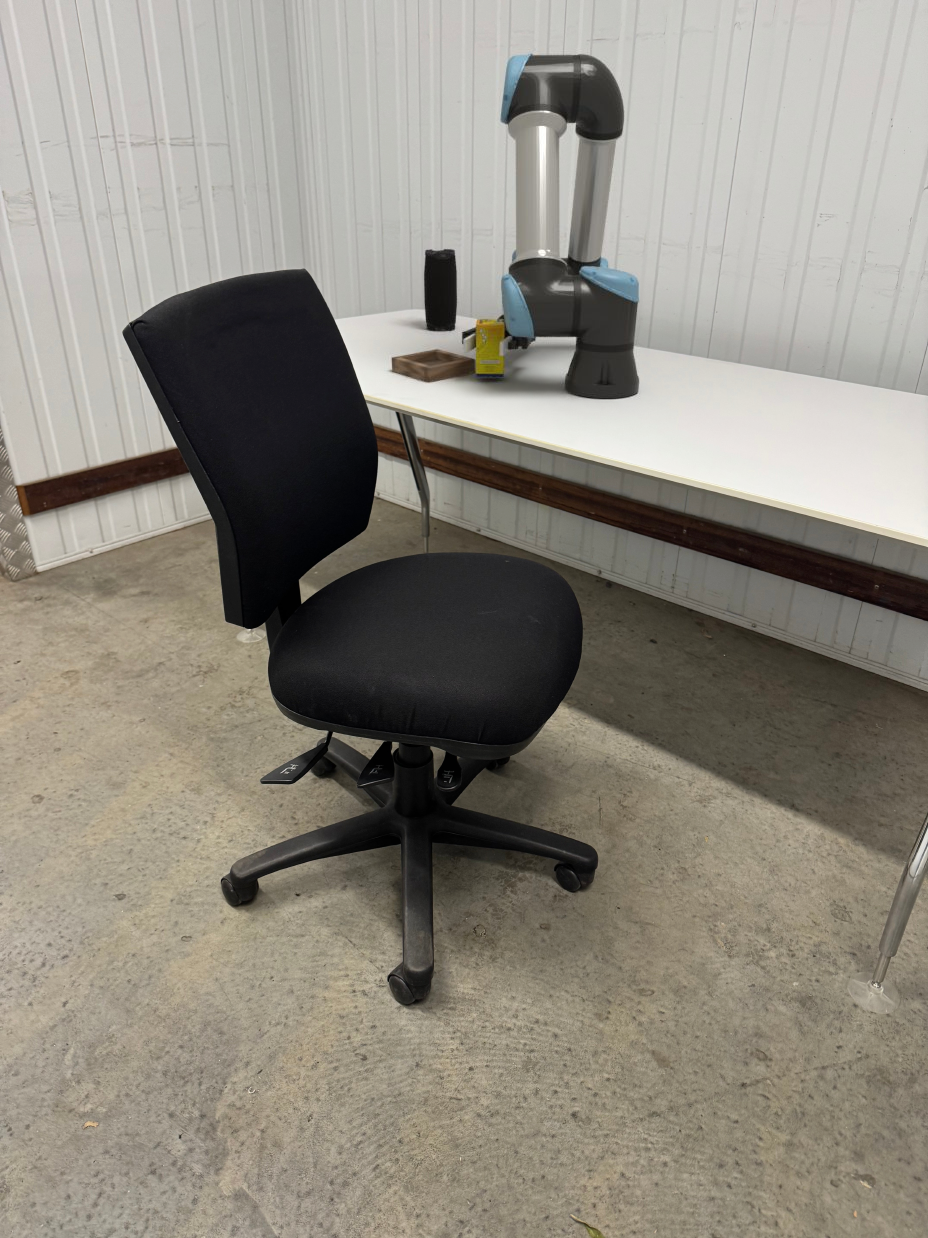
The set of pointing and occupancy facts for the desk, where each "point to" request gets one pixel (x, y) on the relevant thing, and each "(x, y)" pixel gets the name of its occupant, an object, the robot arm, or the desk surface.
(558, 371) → the desk surface
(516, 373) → the desk surface
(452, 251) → the portable speaker
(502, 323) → the supplement box
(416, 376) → the socket block
